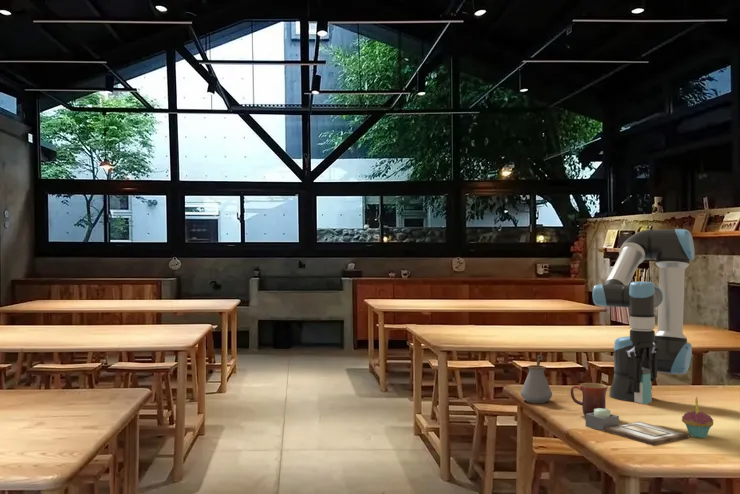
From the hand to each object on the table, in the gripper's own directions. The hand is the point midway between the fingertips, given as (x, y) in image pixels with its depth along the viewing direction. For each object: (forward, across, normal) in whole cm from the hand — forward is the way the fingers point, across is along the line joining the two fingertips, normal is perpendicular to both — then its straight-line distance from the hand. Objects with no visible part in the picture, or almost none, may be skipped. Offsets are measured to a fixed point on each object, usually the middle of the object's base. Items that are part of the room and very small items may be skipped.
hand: (642, 401), depth 212 cm
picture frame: (+6, +12, +10) cm, 17 cm away
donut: (+7, -1, +18) cm, 20 cm away
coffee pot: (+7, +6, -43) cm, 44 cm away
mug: (+7, +9, -15) cm, 18 cm away
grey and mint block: (0, 0, 0) cm, 0 cm away
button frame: (+6, +17, -2) cm, 18 cm away
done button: (+4, +17, -2) cm, 17 cm away
